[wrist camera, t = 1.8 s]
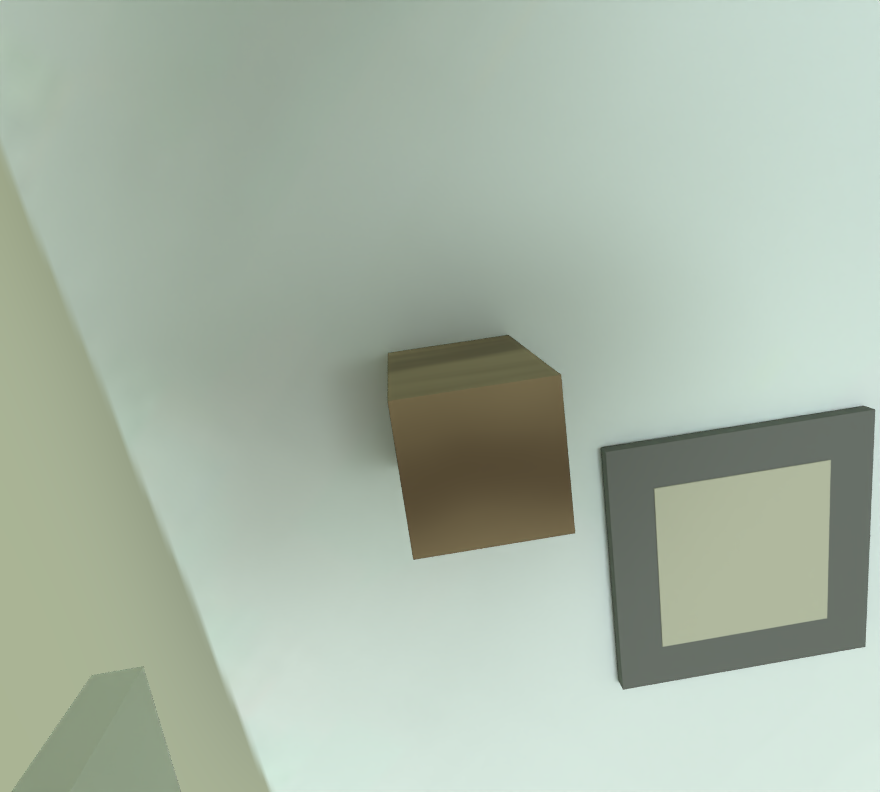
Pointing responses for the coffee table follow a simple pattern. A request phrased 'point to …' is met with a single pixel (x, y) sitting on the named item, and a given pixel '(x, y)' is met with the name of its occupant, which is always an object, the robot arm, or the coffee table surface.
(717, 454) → the mat
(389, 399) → the walnut block
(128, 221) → the coffee table surface
